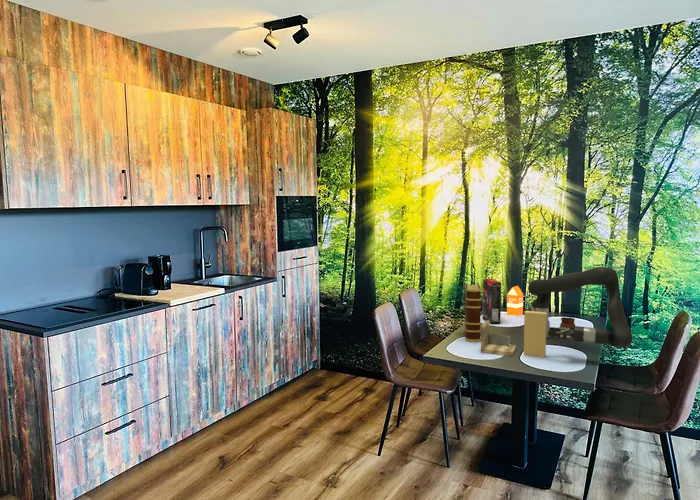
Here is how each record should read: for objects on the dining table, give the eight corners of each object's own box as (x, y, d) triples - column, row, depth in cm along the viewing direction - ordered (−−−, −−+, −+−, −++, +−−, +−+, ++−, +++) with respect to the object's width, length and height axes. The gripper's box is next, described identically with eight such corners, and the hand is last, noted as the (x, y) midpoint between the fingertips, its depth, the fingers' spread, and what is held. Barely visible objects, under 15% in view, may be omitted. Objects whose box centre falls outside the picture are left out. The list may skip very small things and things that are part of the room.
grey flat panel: (509, 345, 254) (510, 336, 254) (509, 346, 252) (509, 336, 252) (488, 342, 259) (488, 333, 259) (487, 343, 257) (488, 334, 257)
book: (524, 352, 247) (525, 310, 246) (545, 355, 243) (546, 312, 241) (523, 354, 244) (524, 312, 242) (544, 357, 239) (545, 314, 237)
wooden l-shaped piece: (516, 349, 254) (516, 323, 253) (511, 356, 242) (512, 329, 240) (486, 345, 261) (486, 320, 260) (480, 352, 249) (481, 326, 247)
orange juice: (522, 314, 335) (523, 286, 333) (517, 316, 328) (517, 287, 327) (512, 312, 340) (512, 285, 339) (506, 314, 334) (507, 286, 332)
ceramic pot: (559, 333, 285) (560, 321, 284) (547, 326, 303) (547, 315, 302) (589, 333, 285) (590, 321, 285) (575, 326, 303) (575, 315, 302)
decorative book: (480, 342, 267) (481, 289, 265) (466, 341, 269) (466, 289, 266) (478, 332, 289) (478, 283, 287) (464, 331, 291) (465, 282, 288)
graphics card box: (481, 318, 324) (482, 278, 322) (491, 318, 325) (492, 278, 323) (491, 324, 308) (491, 282, 305) (501, 324, 308) (502, 282, 306)
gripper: (585, 323, 238) (549, 320, 245) (584, 330, 225) (547, 327, 233) (584, 338, 239) (549, 335, 246) (584, 346, 226) (547, 342, 234)
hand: (548, 331), depth 239 cm, fingers open, 8 cm apart
